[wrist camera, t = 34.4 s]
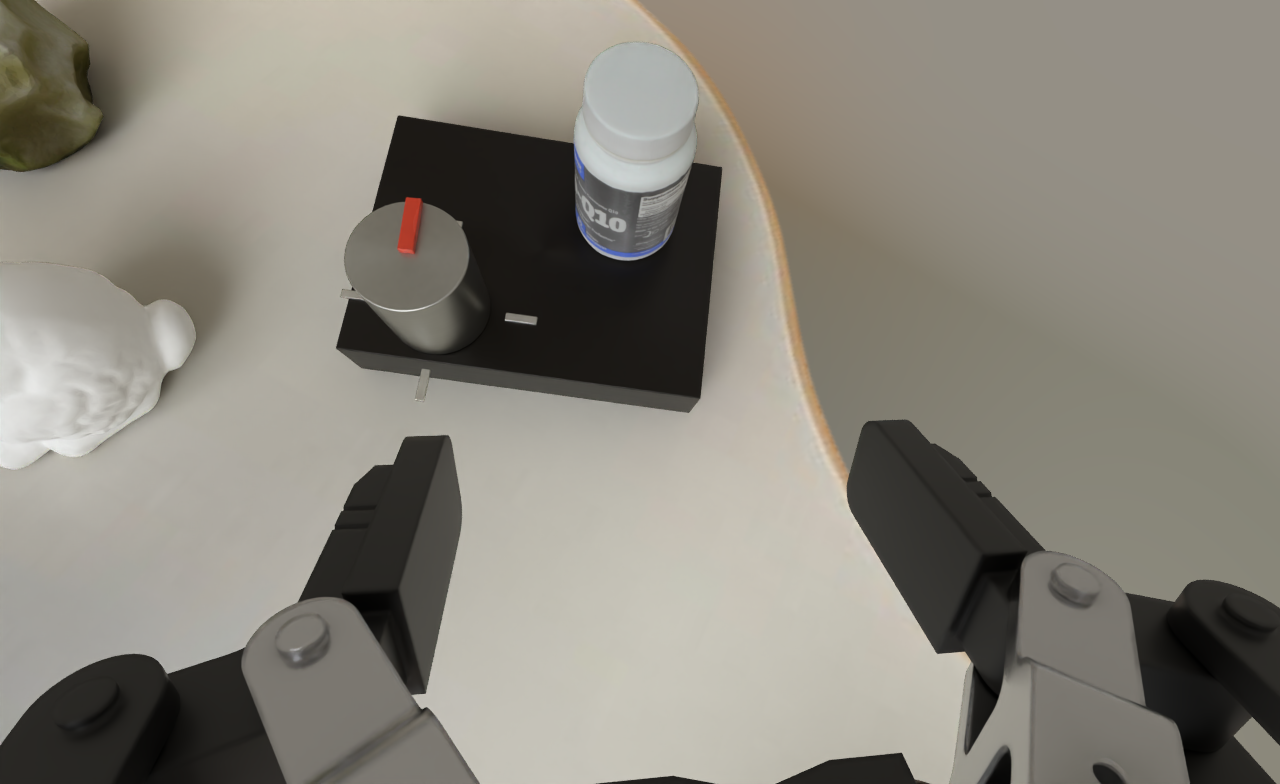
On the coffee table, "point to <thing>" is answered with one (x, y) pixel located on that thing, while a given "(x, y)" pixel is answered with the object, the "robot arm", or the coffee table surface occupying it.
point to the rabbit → (78, 359)
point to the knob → (419, 276)
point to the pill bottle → (633, 148)
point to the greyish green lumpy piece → (42, 88)
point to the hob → (548, 276)
